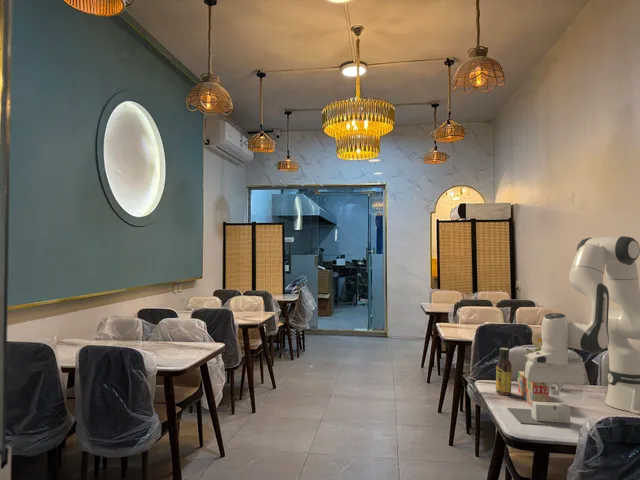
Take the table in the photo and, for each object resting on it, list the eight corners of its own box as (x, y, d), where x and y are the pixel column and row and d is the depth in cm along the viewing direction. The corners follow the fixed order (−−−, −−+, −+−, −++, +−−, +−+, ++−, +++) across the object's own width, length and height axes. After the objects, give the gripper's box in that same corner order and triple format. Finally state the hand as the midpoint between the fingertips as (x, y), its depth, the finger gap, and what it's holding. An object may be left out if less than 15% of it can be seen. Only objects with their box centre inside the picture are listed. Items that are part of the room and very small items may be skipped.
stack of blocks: (517, 391, 189) (518, 364, 190) (532, 392, 188) (533, 365, 189) (532, 408, 168) (532, 377, 169) (549, 409, 167) (549, 378, 168)
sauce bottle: (494, 390, 189) (494, 346, 190) (509, 392, 188) (509, 347, 189) (497, 395, 183) (498, 349, 184) (513, 396, 182) (513, 350, 183)
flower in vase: (520, 387, 196) (521, 333, 197) (514, 380, 207) (515, 329, 208) (551, 390, 193) (551, 335, 194) (543, 382, 204) (544, 330, 205)
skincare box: (571, 423, 152) (536, 422, 153) (564, 419, 156) (531, 417, 157) (570, 406, 152) (536, 404, 153) (564, 402, 157) (530, 400, 158)
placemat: (552, 411, 165) (552, 410, 165) (571, 427, 150) (571, 425, 150) (507, 408, 167) (507, 407, 167) (521, 423, 152) (521, 422, 152)
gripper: (579, 356, 159) (579, 393, 159) (523, 353, 162) (522, 390, 161) (588, 360, 153) (588, 399, 153) (529, 357, 156) (529, 395, 155)
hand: (554, 394), depth 157 cm, fingers closed
